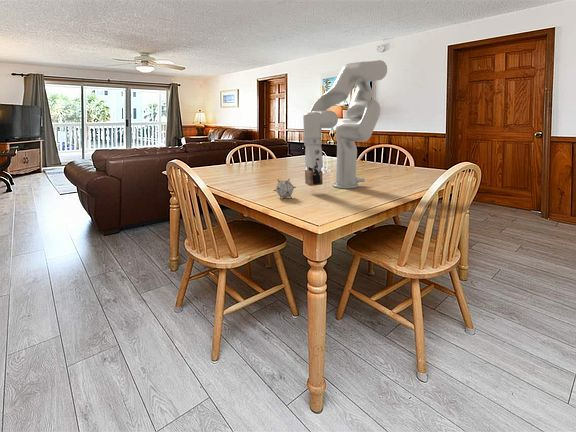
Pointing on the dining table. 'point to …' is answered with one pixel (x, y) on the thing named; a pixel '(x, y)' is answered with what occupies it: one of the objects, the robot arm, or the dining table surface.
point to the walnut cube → (309, 178)
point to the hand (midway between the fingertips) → (313, 181)
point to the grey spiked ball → (284, 188)
